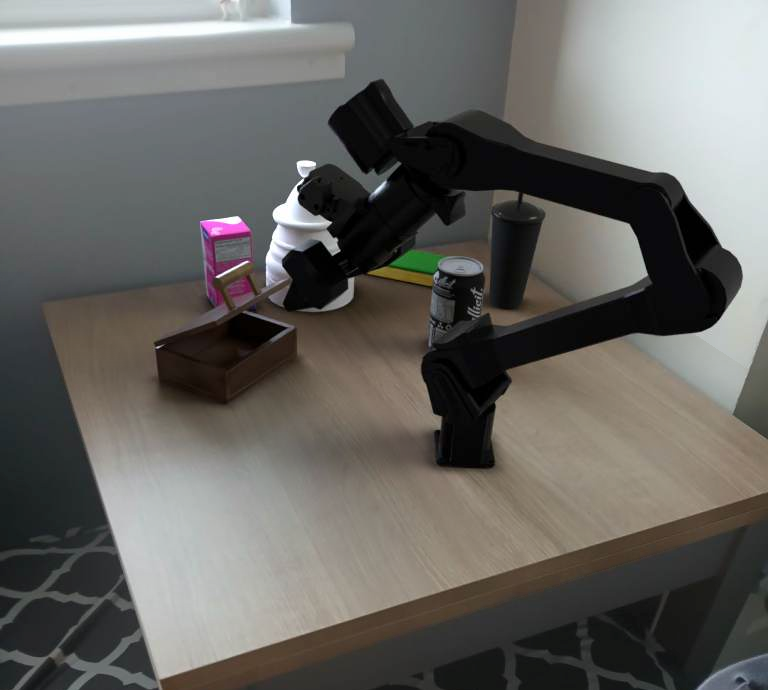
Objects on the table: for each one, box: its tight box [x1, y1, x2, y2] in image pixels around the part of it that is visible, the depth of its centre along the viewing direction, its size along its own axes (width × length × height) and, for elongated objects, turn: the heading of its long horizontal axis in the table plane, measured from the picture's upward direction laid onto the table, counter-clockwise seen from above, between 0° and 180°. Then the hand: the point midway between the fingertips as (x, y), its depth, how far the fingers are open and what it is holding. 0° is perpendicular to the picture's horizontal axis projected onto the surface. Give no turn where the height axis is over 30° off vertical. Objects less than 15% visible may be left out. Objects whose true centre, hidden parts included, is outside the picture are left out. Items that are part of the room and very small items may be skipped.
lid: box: [153, 261, 292, 348], centre depth 106 cm, size 11×15×5 cm
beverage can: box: [426, 255, 486, 350], centre depth 115 cm, size 7×7×12 cm
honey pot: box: [265, 160, 355, 313], centre depth 125 cm, size 13×13×18 cm
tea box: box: [154, 310, 298, 405], centre depth 110 cm, size 11×15×4 cm
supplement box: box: [199, 215, 257, 311], centre depth 122 cm, size 6×6×12 cm
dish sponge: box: [366, 249, 447, 287], centre depth 137 cm, size 7×14×2 cm, turn 70°
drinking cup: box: [488, 192, 547, 310], centre depth 125 cm, size 8×8×20 cm
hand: (309, 292), depth 99 cm, fingers open, 9 cm apart
